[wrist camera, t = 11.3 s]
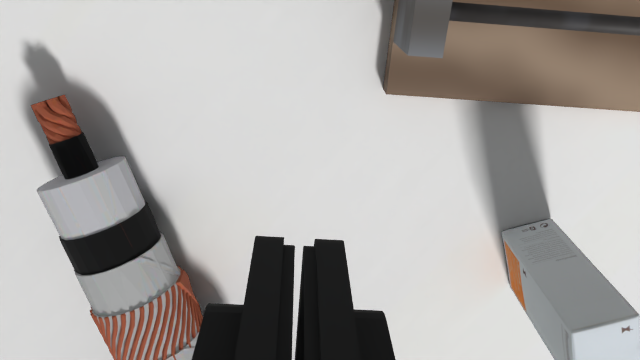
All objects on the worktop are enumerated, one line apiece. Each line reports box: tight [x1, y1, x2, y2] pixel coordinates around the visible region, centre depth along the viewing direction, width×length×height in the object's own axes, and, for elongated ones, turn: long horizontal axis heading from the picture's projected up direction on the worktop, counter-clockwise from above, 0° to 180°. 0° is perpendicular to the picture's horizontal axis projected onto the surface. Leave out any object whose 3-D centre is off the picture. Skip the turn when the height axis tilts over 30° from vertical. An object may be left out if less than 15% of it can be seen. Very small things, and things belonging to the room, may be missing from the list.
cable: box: [31, 95, 203, 360], centre depth 38 cm, size 10×34×10 cm
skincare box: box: [502, 219, 640, 360], centre depth 36 cm, size 6×4×12 cm
